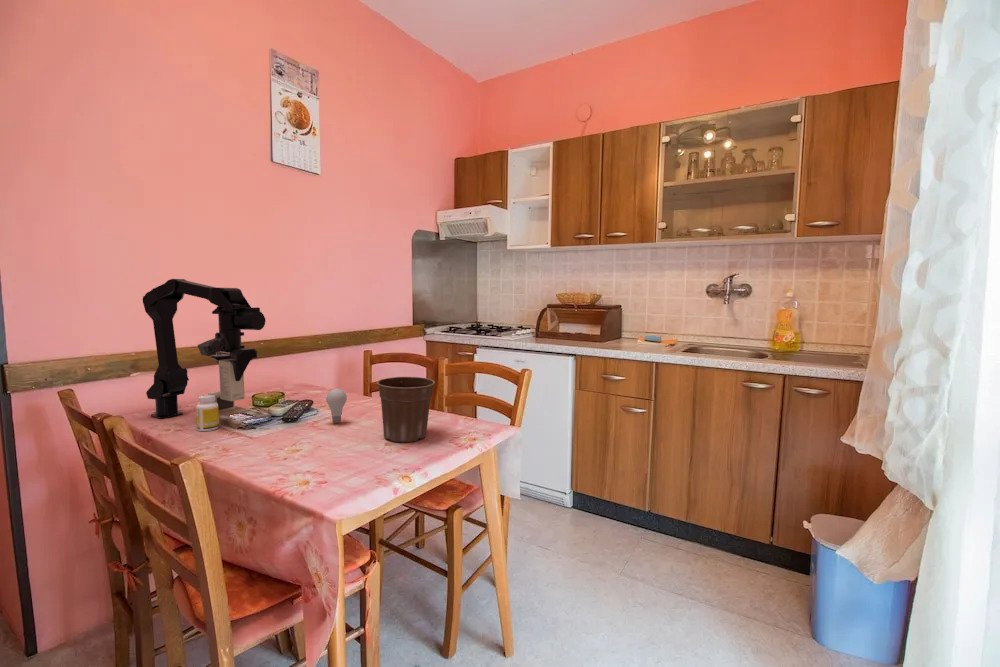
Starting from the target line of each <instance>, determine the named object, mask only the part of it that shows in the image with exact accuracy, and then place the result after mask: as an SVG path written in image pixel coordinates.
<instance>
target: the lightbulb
mask: <svg viewBox="0 0 1000 667" xmlns="http://www.w3.org/2000/svg"><path fill="white" fill-rule="evenodd" d="M347 396H348V395H347V394H346V392H345V390H343V389H341V388H333V389H331V390H329V391H328V392H327V394H326V396H325V401H326V404H327V405H328V407H329V409H330V415H331V420H332V423H335V424H339V423H340V422H341V421H342V414H343V409H344V407H345V405H346V403H347V400H348V397H347Z"/></svg>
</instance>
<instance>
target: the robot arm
mask: <svg viewBox="0 0 1000 667" xmlns="http://www.w3.org/2000/svg"><path fill="white" fill-rule="evenodd" d="M185 295H188V296H193V297H197V298H201V299H205V300H207V301H208V302H209V303H211V304H213V305H215V306H217V307H216V308H215V309H214V310H212V312H211V314H212V315H217V316H218V317H217V318H218V332H216V333H215V334H214V338H212V339H209V340H206V341H204V342H202V343H199V344H197V348H198V351H199V353H200V354H201V356H205V357H209V358H211V360H212V359H213V361H216V362H217V364H218V366H219V360H225V359H229V360H228V361H229V362H231V363H232V364H233V369H234V375H235V380H236V381H240V379H241V377H242V375H243V374H244V373H245V371H246V369H247V367H248V365H249V364H250V363H251V361H252V360H253V359H257V358H258V351H257V349H255V348H252V347H245V345H243V344H242V336H245V332H244V331H261V330H262V329H264V328H265V325H266V318H265V315H264V314H263V312H262V311H261V307H257V306H256V307H252V306H251V305H250V303H249V302H248V300H247V299H246V297H245V296H244V294H243V292H242V289H240V288H238V287H215V286H212V285H208V284H203V283H198V282H194V281H191V280H186V279H184V278H170V279H168V280H167V281H166V282H165V283H162V284H161V285H158V286H156V287H154V288H152V289H151V290H149V291H147V292H146V293H145V294H144V295H143V296H142V304H143V308H144V311H145V313H146V315H147V316H149V318H150V319H151V320H152V323H153V332H154V340H155V348H156V354H157V363H158V367H157V368H156V370H155V372H154V375H153V384H152V385H151V386H150V387H149V388H148V389H147V390H146V392H145V394H146V397H147V399H148V400H155V402H154V403H155V412H154V413H151V414H150V416H152V417H154V418H157V419H160V420H161V419H165V418H170V417H171V418H172V417H176V416H181V415H183V414H184V412H182V411H179V403H178V396H180V395H184V394H185V392H186V388H187V386H188V381H190V378H189V376H188V369H187V368H185V367H182V366H181V365H180V364H179V360H178V352H177V344H176V336H175V329H174V320H173V319H174V317H175V315H176V314H177V311H178V303H180V302H181V301H182V300H183V298H184V296H185ZM242 330H244V331H242Z"/></svg>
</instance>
